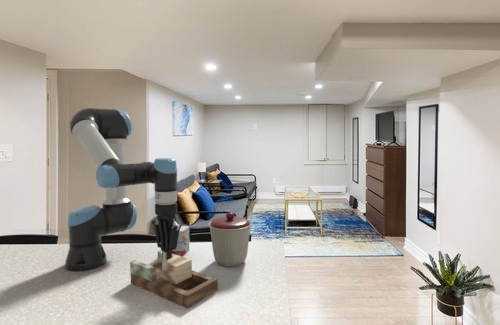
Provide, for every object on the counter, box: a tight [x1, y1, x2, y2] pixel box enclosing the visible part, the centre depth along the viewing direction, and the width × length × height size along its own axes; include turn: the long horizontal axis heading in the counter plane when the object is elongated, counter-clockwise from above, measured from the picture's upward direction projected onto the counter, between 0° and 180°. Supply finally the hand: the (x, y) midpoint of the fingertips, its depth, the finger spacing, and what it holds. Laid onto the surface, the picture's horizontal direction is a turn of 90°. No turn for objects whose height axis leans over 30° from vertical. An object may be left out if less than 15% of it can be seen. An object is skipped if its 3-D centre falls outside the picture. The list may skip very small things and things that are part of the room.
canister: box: [208, 212, 253, 267], centre depth 131 cm, size 18×18×21 cm
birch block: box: [162, 255, 193, 284], centre depth 107 cm, size 7×7×6 cm
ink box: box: [172, 225, 190, 257], centre depth 141 cm, size 9×9×12 cm
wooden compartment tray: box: [129, 249, 219, 310], centre depth 109 cm, size 29×14×8 cm, turn 55°
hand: (167, 268), depth 111 cm, fingers closed
